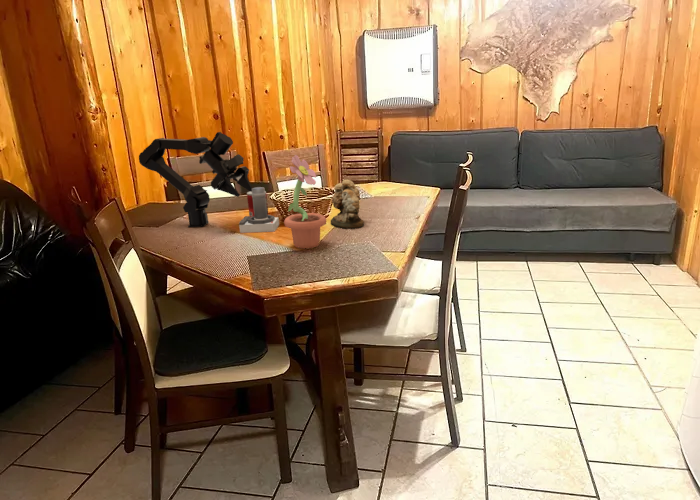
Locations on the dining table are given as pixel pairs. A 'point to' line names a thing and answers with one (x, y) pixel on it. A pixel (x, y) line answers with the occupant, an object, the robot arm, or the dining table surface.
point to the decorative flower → (304, 223)
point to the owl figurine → (346, 206)
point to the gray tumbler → (259, 203)
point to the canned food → (250, 204)
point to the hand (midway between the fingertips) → (245, 193)
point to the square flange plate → (258, 224)
